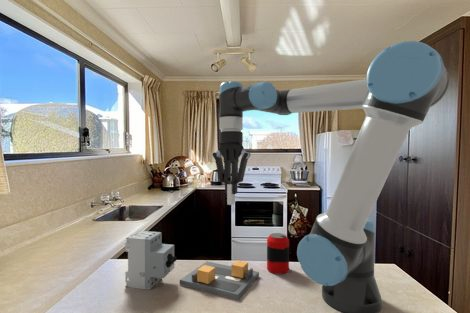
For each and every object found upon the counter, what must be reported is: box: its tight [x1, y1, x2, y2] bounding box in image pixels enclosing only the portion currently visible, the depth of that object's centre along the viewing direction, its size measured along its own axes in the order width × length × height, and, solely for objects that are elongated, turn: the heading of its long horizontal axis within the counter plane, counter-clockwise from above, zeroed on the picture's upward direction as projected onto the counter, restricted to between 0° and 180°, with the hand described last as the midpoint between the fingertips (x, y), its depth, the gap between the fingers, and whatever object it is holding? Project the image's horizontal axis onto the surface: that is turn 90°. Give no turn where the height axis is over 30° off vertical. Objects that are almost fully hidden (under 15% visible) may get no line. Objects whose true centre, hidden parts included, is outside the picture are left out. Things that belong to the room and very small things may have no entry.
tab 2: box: [231, 260, 249, 278], centre depth 87 cm, size 4×4×4 cm
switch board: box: [179, 261, 260, 301], centre depth 87 cm, size 20×16×4 cm
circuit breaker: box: [124, 230, 177, 290], centre depth 85 cm, size 8×14×15 cm, turn 78°
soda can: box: [266, 232, 290, 275], centre depth 95 cm, size 8×8×12 cm
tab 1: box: [197, 265, 215, 284], centre depth 84 cm, size 4×4×4 cm
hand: (231, 203), depth 88 cm, fingers closed
